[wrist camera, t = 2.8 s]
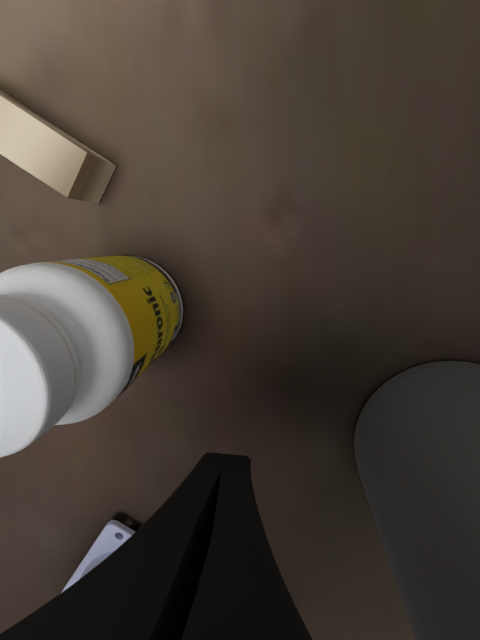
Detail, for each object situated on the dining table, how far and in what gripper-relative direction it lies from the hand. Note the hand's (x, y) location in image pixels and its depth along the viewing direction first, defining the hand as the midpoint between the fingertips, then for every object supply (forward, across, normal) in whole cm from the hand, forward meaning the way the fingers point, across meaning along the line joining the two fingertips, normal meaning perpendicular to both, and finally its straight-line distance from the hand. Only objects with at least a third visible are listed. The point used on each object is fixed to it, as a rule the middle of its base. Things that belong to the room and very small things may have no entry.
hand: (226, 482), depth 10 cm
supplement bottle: (+8, +6, -4) cm, 11 cm away
